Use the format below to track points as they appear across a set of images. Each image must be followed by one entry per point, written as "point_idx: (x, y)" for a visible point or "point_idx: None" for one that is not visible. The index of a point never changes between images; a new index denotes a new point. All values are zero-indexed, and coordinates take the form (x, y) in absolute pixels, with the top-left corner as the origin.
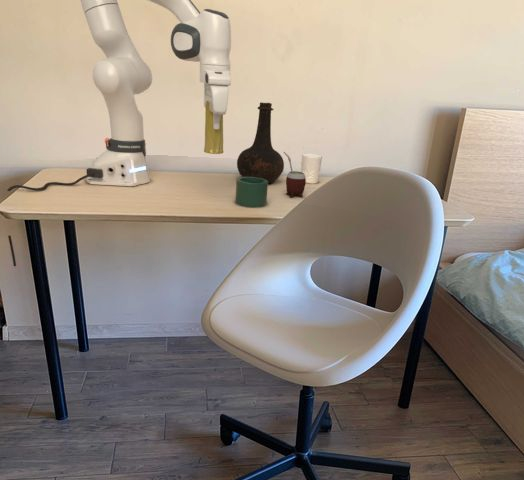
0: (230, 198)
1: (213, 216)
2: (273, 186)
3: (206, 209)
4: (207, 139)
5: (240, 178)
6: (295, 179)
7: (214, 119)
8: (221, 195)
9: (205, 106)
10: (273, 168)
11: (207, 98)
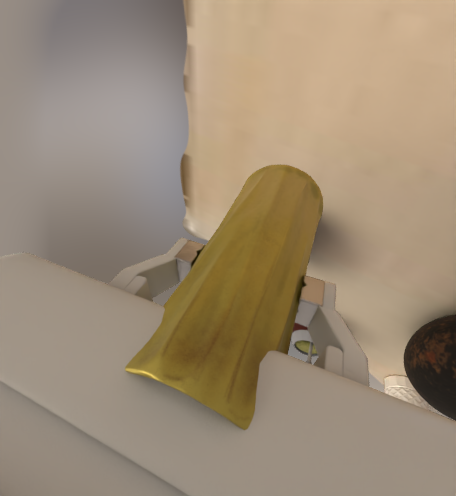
0: (334, 204)
1: (192, 106)
2: (401, 327)
3: (248, 104)
4: (245, 195)
5: None
6: (293, 330)
7: (142, 266)
8: (374, 195)
9: (423, 421)
10: (405, 360)
11: (248, 469)
